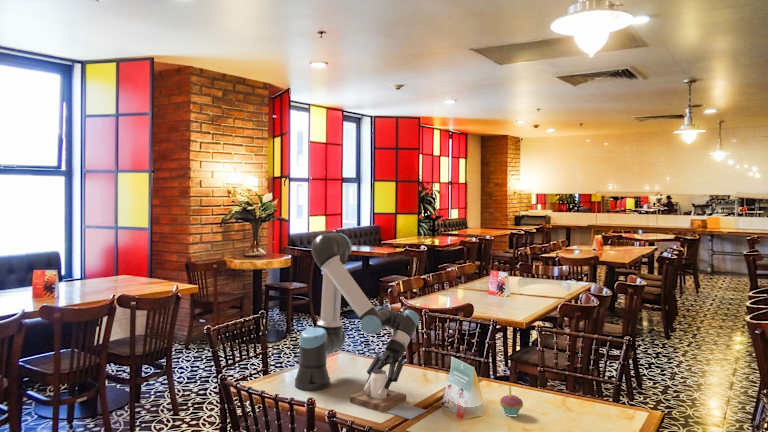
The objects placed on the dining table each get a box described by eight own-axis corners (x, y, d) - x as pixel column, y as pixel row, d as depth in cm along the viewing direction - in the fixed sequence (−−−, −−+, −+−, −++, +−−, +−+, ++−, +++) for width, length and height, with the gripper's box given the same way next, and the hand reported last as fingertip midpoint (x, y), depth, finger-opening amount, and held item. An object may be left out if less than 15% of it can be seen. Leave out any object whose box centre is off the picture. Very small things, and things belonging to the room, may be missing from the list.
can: (384, 405, 224) (385, 374, 223) (368, 403, 225) (369, 373, 225) (387, 399, 230) (388, 369, 230) (372, 398, 231) (372, 368, 231)
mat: (386, 412, 216) (386, 411, 216) (403, 404, 225) (403, 403, 225) (410, 419, 209) (410, 418, 209) (426, 411, 218) (426, 410, 218)
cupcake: (518, 420, 211) (519, 388, 210) (496, 415, 215) (496, 384, 215) (525, 413, 218) (526, 382, 217) (504, 408, 222) (505, 378, 222)
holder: (349, 402, 226) (350, 396, 226) (374, 391, 239) (374, 385, 239) (382, 412, 216) (382, 405, 216) (406, 400, 229) (406, 394, 229)
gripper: (420, 353, 234) (397, 403, 221) (382, 345, 245) (358, 392, 232) (413, 342, 229) (389, 393, 216) (375, 335, 241) (349, 383, 228)
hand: (373, 393), depth 224 cm, fingers closed on can, 6 cm apart
